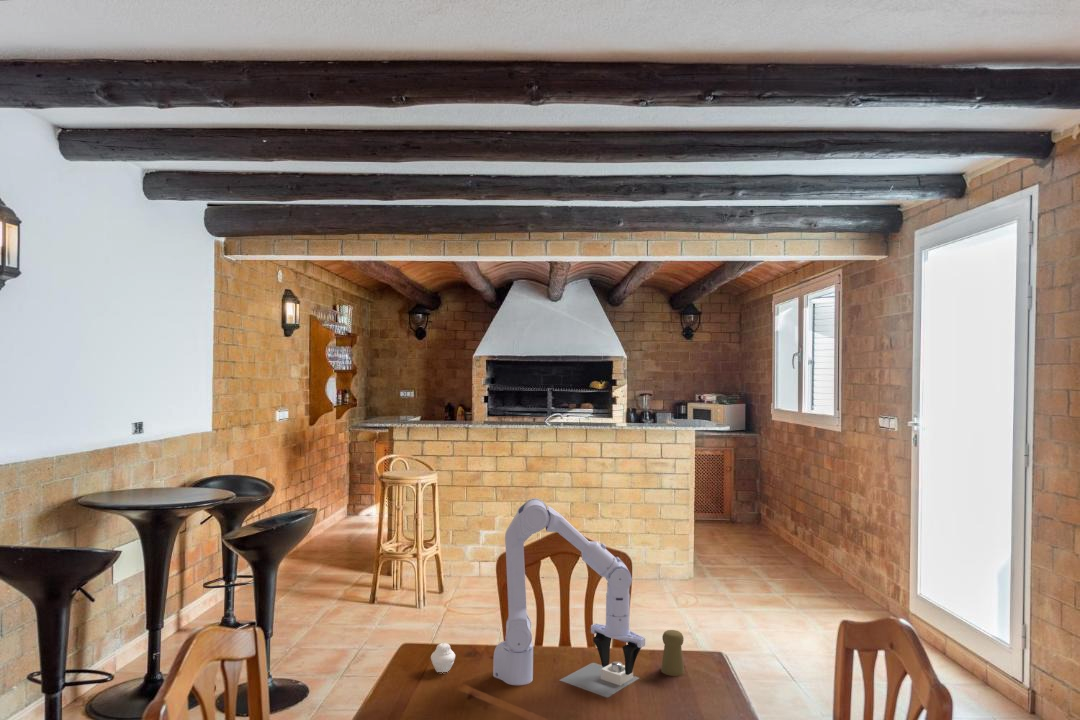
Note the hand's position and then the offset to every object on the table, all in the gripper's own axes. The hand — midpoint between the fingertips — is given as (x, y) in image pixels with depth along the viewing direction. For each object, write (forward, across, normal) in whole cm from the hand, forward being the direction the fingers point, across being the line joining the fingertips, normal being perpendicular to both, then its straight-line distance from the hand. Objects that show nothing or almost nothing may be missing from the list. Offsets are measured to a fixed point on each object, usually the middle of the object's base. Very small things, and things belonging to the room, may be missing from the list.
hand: (617, 669), depth 171 cm
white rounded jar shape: (+4, +37, +23) cm, 44 cm away
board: (+3, +3, +3) cm, 5 cm away
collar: (+2, 0, 0) cm, 2 cm away
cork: (+4, -8, -13) cm, 16 cm away
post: (+2, 0, 0) cm, 2 cm away
